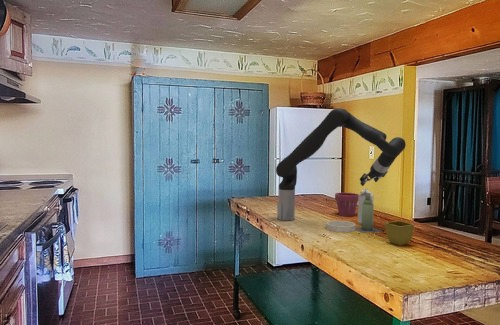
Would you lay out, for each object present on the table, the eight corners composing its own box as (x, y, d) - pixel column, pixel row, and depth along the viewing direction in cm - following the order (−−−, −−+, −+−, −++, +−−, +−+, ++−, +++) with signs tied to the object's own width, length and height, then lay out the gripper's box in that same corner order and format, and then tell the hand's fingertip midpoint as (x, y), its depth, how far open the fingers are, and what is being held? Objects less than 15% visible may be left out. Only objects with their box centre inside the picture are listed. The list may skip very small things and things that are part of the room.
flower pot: (399, 247, 159) (400, 226, 159) (383, 242, 167) (384, 222, 167) (414, 244, 163) (414, 224, 163) (397, 240, 171) (398, 220, 171)
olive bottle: (365, 231, 186) (366, 194, 185) (359, 228, 191) (359, 192, 190) (375, 230, 187) (376, 193, 186) (368, 227, 193) (369, 192, 192)
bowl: (334, 233, 182) (334, 227, 182) (321, 227, 196) (321, 221, 196) (361, 231, 186) (361, 225, 186) (346, 225, 200) (346, 219, 200)
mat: (363, 233, 183) (363, 232, 183) (351, 228, 193) (351, 227, 193) (383, 232, 186) (383, 231, 186) (370, 227, 196) (370, 226, 196)
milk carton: (372, 222, 209) (373, 187, 208) (371, 224, 202) (372, 189, 201) (359, 220, 212) (360, 187, 211) (357, 223, 205) (358, 188, 204)
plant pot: (356, 212, 235) (357, 192, 234) (361, 217, 221) (361, 195, 220) (333, 212, 236) (333, 192, 236) (336, 216, 222) (336, 195, 222)
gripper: (388, 157, 194) (375, 173, 208) (365, 163, 190) (353, 180, 204) (396, 169, 191) (382, 185, 204) (372, 175, 187) (360, 191, 200)
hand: (368, 182), depth 204 cm, fingers open, 8 cm apart
